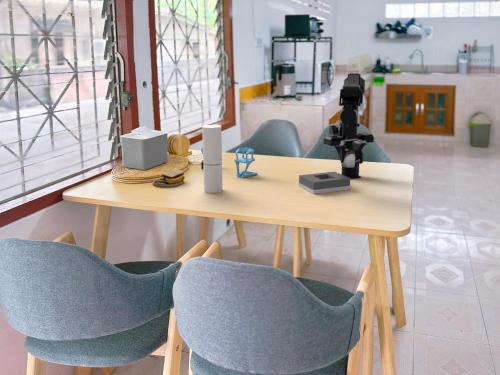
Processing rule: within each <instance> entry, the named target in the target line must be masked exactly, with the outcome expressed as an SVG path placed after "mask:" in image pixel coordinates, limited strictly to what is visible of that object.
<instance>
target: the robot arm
mask: <svg viewBox="0 0 500 375" xmlns="http://www.w3.org/2000/svg"><path fill="white" fill-rule="evenodd" d="M361 74H362V73H355V72H353V73H352V72H351V73H347V77H346V78H345V79H344V80H343V85H342V87H341V88H340V89H339V90H340V91H339V99H338V100H339V103H338V106H339V107H341V106H342V108H341V109H342V110H341V112H340V115H339V117H340V118H339V119H340V122H339V124H338V126H336V125H329V127H328V133H329V135H326V136H324V138H323V145H327V146H330V147H334V148H335V150H336V152H337V155H338V157H339V160H340V164H341V163H343V161H344V156H345V149H354V150H355V167H350V168H348V167H342V166H341V174H342V175H344V176H346V177H349V178H350V180H351V179H358V178H359V179H360V178H361V177H362V176H361V175H360V165H361V164H364V152H363V151H362V150H363V148H364V147H365V146H367V144H368V143H374V142H375V137H374V134H373V133H372V134H371V133H369V132H358V128H360V123H358V122H359V107H361V105H362V104H363V101H364V94H365V92H366V80H365V79H364V78H363V77H361Z"/></svg>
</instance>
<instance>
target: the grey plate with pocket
mask: <svg viewBox="0 0 500 375" xmlns="http://www.w3.org/2000/svg"><path fill="white" fill-rule="evenodd" d="M298 187H299V188H301V189H303V190H304V191H307V192H308V193H311V194H313V195H315V194H326V193H333V192H339V191H341V192H342V191H348V190H349V191H350V189H351V179H350V178H349V177H346V176H344V175H342V173H339V172H337V171H325V172H318V173H317V172H316V173H309V174H308V173H307V174H300V175H298Z"/></svg>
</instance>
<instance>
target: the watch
mask: <svg viewBox="0 0 500 375" xmlns="http://www.w3.org/2000/svg"><path fill="white" fill-rule="evenodd" d="M201 154H202V155H203V146H202V147H201ZM200 164H201V167H200V168H201V170H204V169H203V160H201V163H200Z"/></svg>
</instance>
